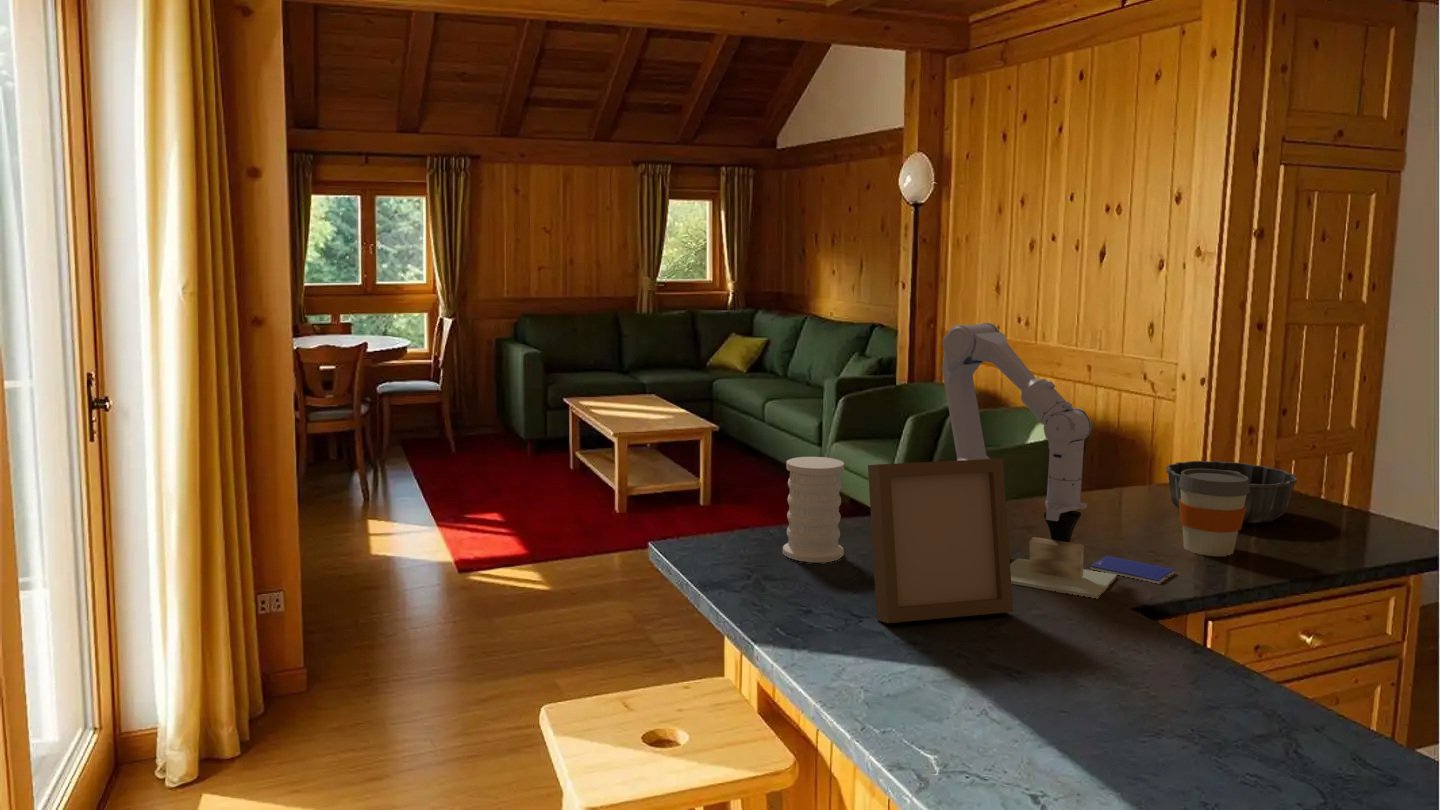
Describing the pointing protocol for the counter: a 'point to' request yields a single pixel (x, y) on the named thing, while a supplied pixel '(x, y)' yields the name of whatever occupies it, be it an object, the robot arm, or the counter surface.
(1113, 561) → the hard drive
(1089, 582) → the mat
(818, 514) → the decorative container
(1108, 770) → the counter surface
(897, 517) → the photo frame
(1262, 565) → the counter surface
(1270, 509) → the bundt pan
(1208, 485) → the reusable coffee cup
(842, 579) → the counter surface
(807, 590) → the counter surface
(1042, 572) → the oak tile
